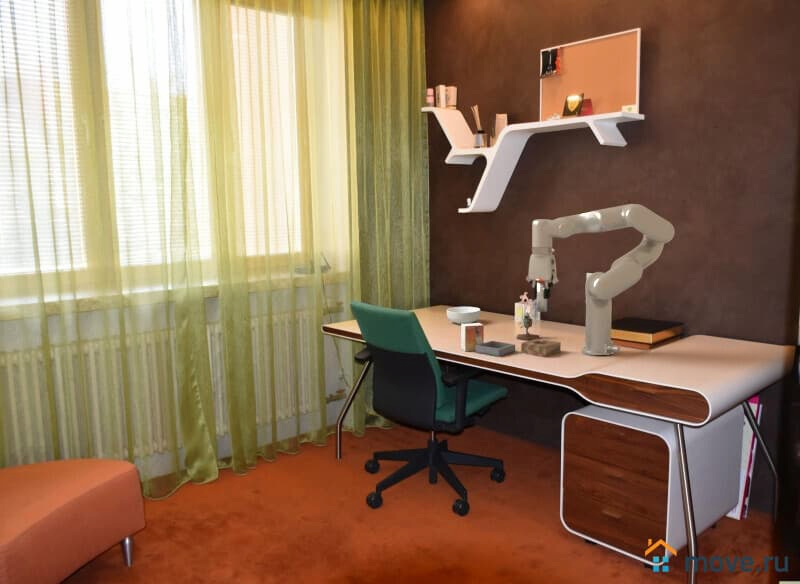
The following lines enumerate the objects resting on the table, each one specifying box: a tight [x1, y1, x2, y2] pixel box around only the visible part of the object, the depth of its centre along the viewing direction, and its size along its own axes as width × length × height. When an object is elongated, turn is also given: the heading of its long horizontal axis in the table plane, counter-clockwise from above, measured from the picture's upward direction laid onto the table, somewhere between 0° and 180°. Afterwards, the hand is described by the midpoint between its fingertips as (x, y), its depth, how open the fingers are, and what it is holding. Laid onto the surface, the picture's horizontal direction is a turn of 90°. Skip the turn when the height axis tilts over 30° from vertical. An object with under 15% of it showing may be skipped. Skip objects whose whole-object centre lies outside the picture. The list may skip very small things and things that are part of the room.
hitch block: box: [520, 338, 561, 358], centre depth 257 cm, size 11×11×4 cm
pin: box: [535, 279, 548, 313], centre depth 254 cm, size 5×5×13 cm
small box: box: [460, 322, 485, 352], centre depth 264 cm, size 8×6×10 cm
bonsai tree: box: [516, 311, 540, 342], centre depth 284 cm, size 11×9×12 cm
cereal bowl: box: [446, 306, 481, 325], centre depth 322 cm, size 17×17×7 cm
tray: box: [475, 340, 516, 358], centre depth 259 cm, size 11×11×3 cm
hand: (541, 297), depth 255 cm, fingers closed on pin, 4 cm apart
